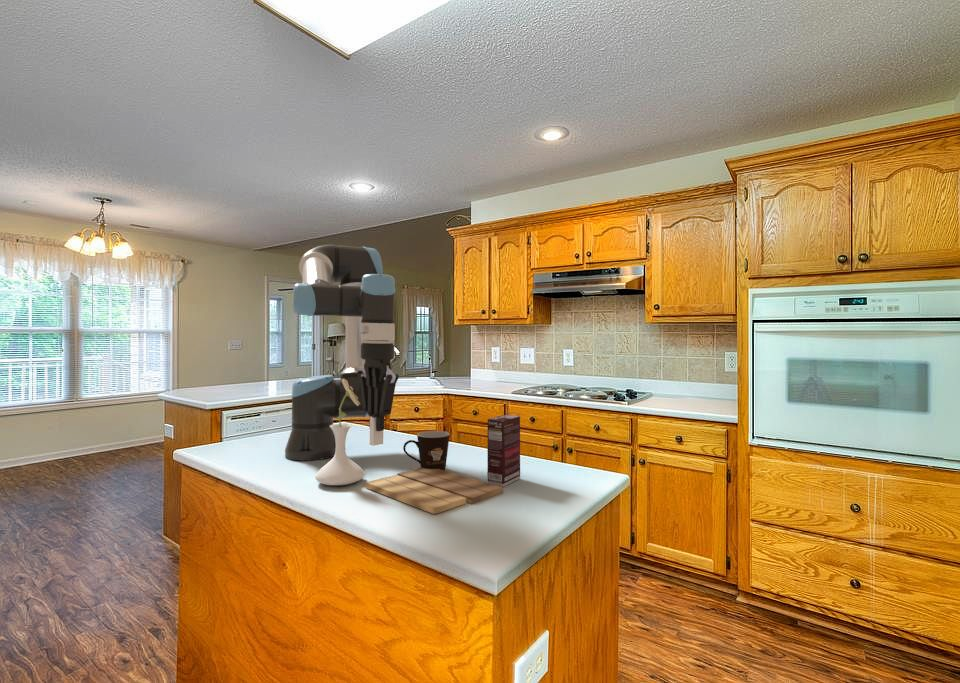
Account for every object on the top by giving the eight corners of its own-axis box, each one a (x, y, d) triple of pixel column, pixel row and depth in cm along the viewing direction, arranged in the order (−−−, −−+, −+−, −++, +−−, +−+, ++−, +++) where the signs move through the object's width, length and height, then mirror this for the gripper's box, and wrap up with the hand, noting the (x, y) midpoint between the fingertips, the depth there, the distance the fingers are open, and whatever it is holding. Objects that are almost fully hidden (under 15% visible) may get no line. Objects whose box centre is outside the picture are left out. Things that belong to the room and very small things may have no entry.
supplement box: (504, 475, 121) (505, 413, 120) (520, 479, 118) (521, 415, 118) (485, 484, 113) (486, 418, 113) (502, 487, 111) (503, 420, 111)
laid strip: (395, 478, 117) (395, 473, 117) (427, 470, 125) (427, 465, 125) (471, 504, 99) (471, 498, 99) (502, 492, 107) (502, 487, 107)
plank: (365, 487, 109) (365, 481, 109) (396, 479, 116) (396, 474, 116) (434, 514, 93) (434, 507, 93) (466, 503, 100) (466, 497, 100)
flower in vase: (359, 489, 108) (360, 381, 108) (308, 490, 108) (309, 381, 107) (369, 473, 121) (370, 376, 121) (324, 473, 121) (325, 376, 120)
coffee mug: (451, 467, 129) (451, 431, 129) (446, 477, 120) (446, 438, 120) (410, 466, 130) (410, 430, 130) (402, 475, 121) (402, 436, 121)
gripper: (347, 341, 109) (346, 441, 110) (381, 343, 101) (379, 452, 101) (374, 341, 115) (373, 436, 116) (408, 343, 106) (407, 446, 107)
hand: (376, 444), depth 108 cm, fingers closed
